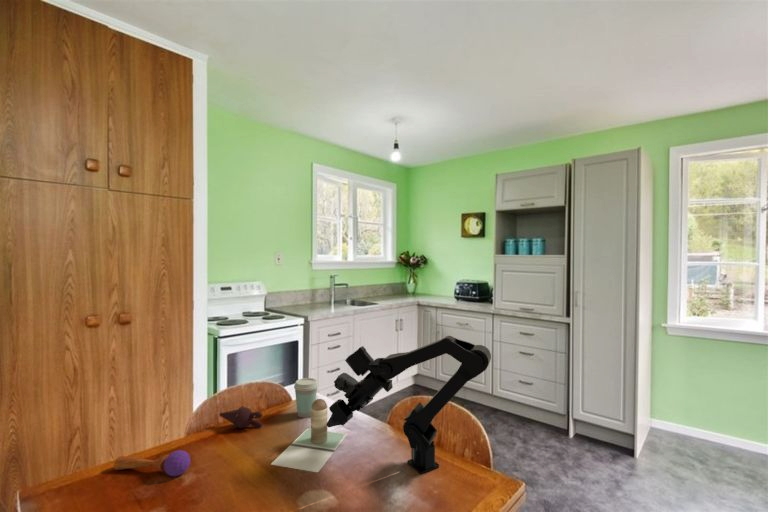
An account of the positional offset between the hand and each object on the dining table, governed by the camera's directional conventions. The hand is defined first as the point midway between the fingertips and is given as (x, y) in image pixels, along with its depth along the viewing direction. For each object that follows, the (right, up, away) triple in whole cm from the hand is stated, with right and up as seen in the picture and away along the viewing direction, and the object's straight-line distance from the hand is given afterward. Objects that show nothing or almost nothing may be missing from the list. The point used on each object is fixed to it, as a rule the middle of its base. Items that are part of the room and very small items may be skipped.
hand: (335, 419), depth 112 cm
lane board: (-7, -8, -3) cm, 10 cm away
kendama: (-46, -8, -14) cm, 49 cm away
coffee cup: (-14, -8, +22) cm, 27 cm away
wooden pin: (-5, -7, +2) cm, 9 cm away
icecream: (-33, -8, +11) cm, 36 cm away
